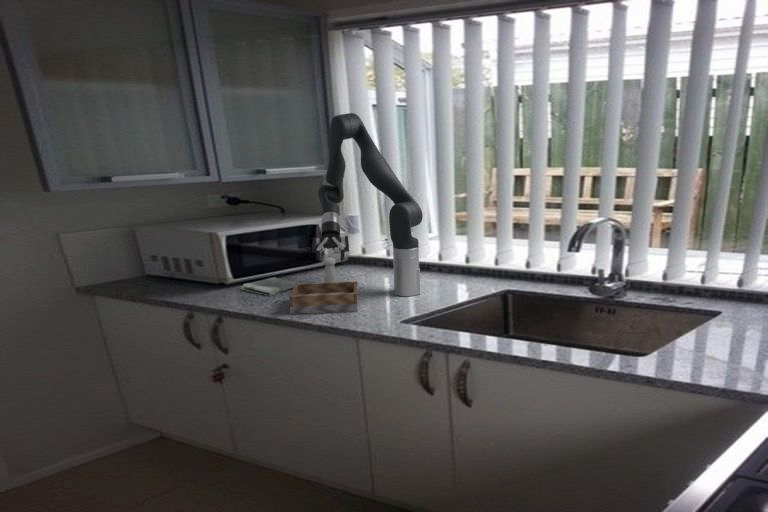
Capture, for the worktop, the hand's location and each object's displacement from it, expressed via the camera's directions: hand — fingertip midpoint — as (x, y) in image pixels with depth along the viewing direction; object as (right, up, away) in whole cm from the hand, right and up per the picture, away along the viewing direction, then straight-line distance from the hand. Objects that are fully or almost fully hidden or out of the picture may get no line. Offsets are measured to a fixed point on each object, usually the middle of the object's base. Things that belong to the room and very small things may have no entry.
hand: (330, 260), depth 199 cm
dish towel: (-24, -12, +7) cm, 27 cm away
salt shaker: (+1, -12, -2) cm, 12 cm away
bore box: (0, -15, -19) cm, 24 cm away
